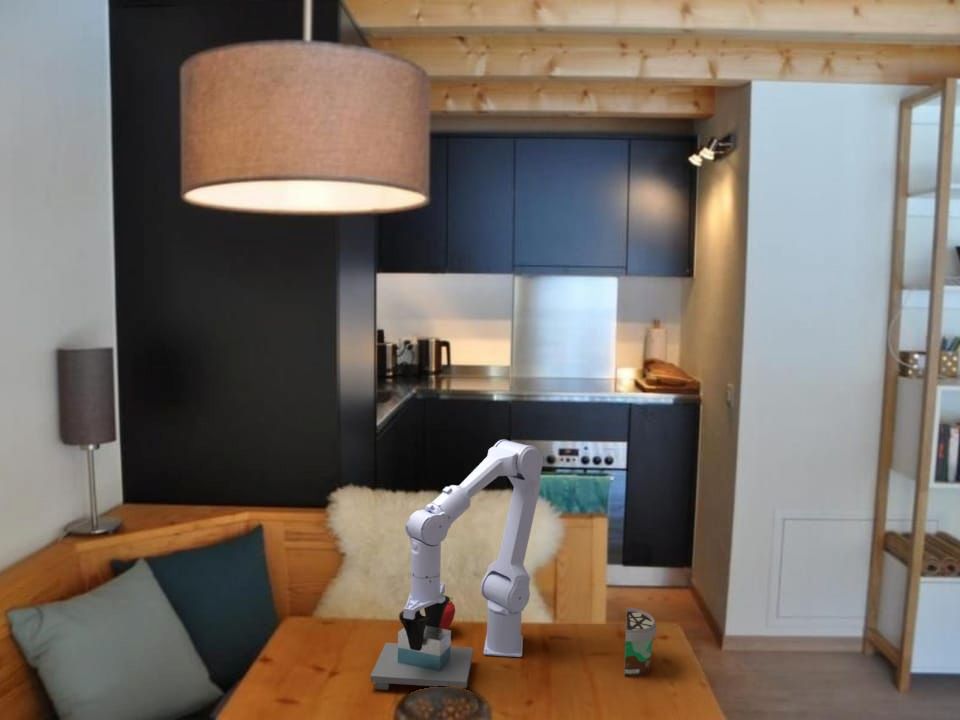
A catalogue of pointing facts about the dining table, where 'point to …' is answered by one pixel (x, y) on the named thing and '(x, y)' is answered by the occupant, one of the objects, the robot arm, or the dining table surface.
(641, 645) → the food container
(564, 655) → the dining table surface
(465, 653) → the stand
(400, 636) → the housing
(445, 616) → the strawberry
